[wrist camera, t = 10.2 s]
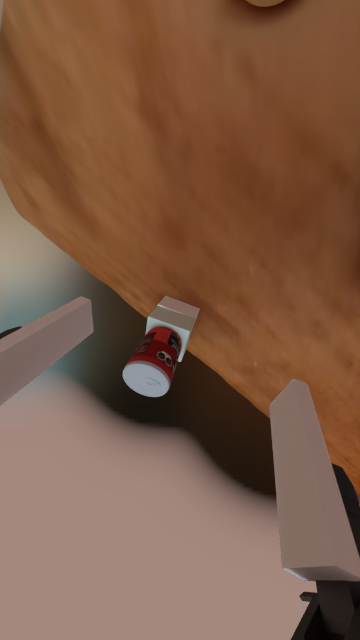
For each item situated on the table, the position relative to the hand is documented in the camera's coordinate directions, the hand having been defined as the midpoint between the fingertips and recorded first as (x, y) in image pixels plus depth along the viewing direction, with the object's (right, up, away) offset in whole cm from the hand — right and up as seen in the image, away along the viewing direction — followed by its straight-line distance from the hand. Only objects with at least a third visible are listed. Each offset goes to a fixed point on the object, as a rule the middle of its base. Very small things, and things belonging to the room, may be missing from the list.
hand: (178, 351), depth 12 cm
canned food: (-3, -2, +28) cm, 28 cm away
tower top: (-2, 0, +32) cm, 32 cm away
